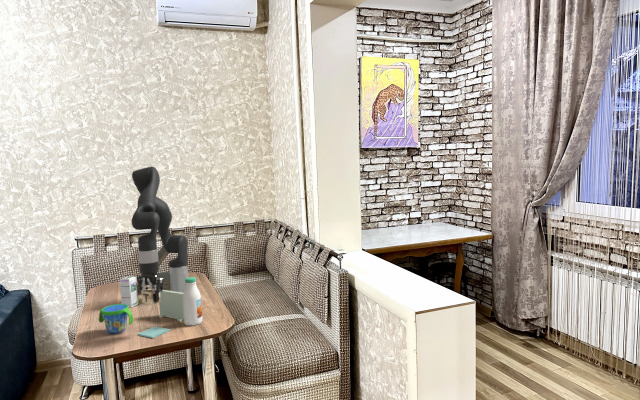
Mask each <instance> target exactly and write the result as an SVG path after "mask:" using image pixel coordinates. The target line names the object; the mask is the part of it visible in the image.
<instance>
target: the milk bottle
mask: <svg viewBox="0 0 640 400" xmlns="http://www.w3.org/2000/svg"><path fill="white" fill-rule="evenodd" d="M185 284H186V288H185V291H184V294H183V313H184V320H183V323H184V325H185V326H197V325H200V324H202V322H203V309H202V296H201V292H200V290H199V289H198V286H197V278H196V277H195V276H188V278H186V279H185Z"/></svg>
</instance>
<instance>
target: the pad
mask: <svg viewBox="0 0 640 400" xmlns="http://www.w3.org/2000/svg"><path fill="white" fill-rule="evenodd" d="M170 331H171V328H165V327H160V326H152V327H151V328H148V329H145V330H143V331H140V332H138V333H137V336H140V337H145V338H149V339H154V338H157V337H159V336H161V335H164V334H166V333H168V332H170Z"/></svg>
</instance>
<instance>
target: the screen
mask: <svg viewBox="0 0 640 400" xmlns="http://www.w3.org/2000/svg"><path fill="white" fill-rule="evenodd" d="M183 294H184V293H181V292H174V291H167V290H163V291H161V292H160V298H161V301H160V302H158V304H159V305H158V306H159V315H158V318H170V319H176V321H177V322H182V321H183V322H184V313H183Z"/></svg>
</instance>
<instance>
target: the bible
mask: <svg viewBox="0 0 640 400" xmlns="http://www.w3.org/2000/svg"><path fill="white" fill-rule="evenodd" d="M158 250H159V251H157V252H158V261H159V267H160V266H161V264H162V263H163V262H164V261H165V259H166V258H167V257H168V255H169V254H170V253H168V252H166V250H165V249H164V246H163V245H162V246H161V247H160V249H158ZM157 274H158V277H159V278H164V282H163V290H167V291H171V289H170V275H169V271H162V272H157ZM140 275H141V274H140ZM140 275H138V276H140ZM155 285H156V284H155ZM155 285H153V286H155ZM141 287H142V284H141ZM149 289H151V288H150V287H149ZM155 289H156V288H155ZM159 289H160V287H159ZM140 295H141V296H142V290H140Z"/></svg>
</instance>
